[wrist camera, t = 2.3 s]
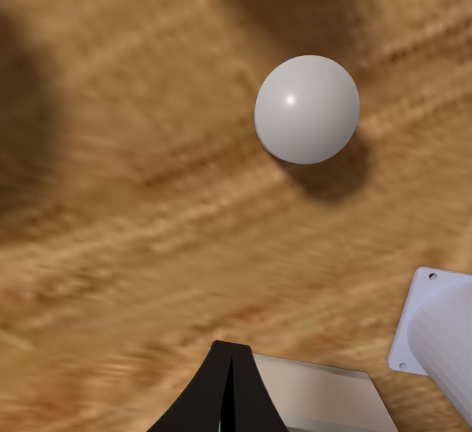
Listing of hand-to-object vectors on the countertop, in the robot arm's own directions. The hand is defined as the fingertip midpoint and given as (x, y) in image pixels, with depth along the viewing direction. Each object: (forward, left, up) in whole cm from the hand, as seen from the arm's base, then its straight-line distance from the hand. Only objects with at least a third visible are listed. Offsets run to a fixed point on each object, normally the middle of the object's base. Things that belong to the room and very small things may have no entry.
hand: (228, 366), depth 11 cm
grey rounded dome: (-2, -10, -10) cm, 15 cm away
